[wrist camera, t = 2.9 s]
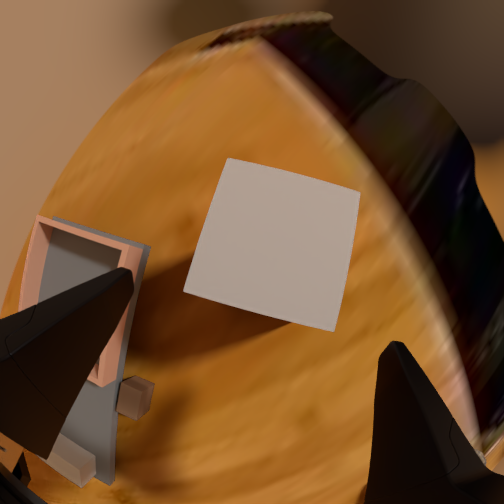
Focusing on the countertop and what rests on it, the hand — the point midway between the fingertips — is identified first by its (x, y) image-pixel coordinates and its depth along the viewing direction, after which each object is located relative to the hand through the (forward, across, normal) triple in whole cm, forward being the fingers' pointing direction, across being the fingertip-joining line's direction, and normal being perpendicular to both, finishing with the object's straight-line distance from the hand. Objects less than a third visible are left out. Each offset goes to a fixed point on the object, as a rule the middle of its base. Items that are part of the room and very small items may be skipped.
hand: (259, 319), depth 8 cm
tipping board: (0, +12, +12) cm, 17 cm away
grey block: (+9, 0, +5) cm, 10 cm away
